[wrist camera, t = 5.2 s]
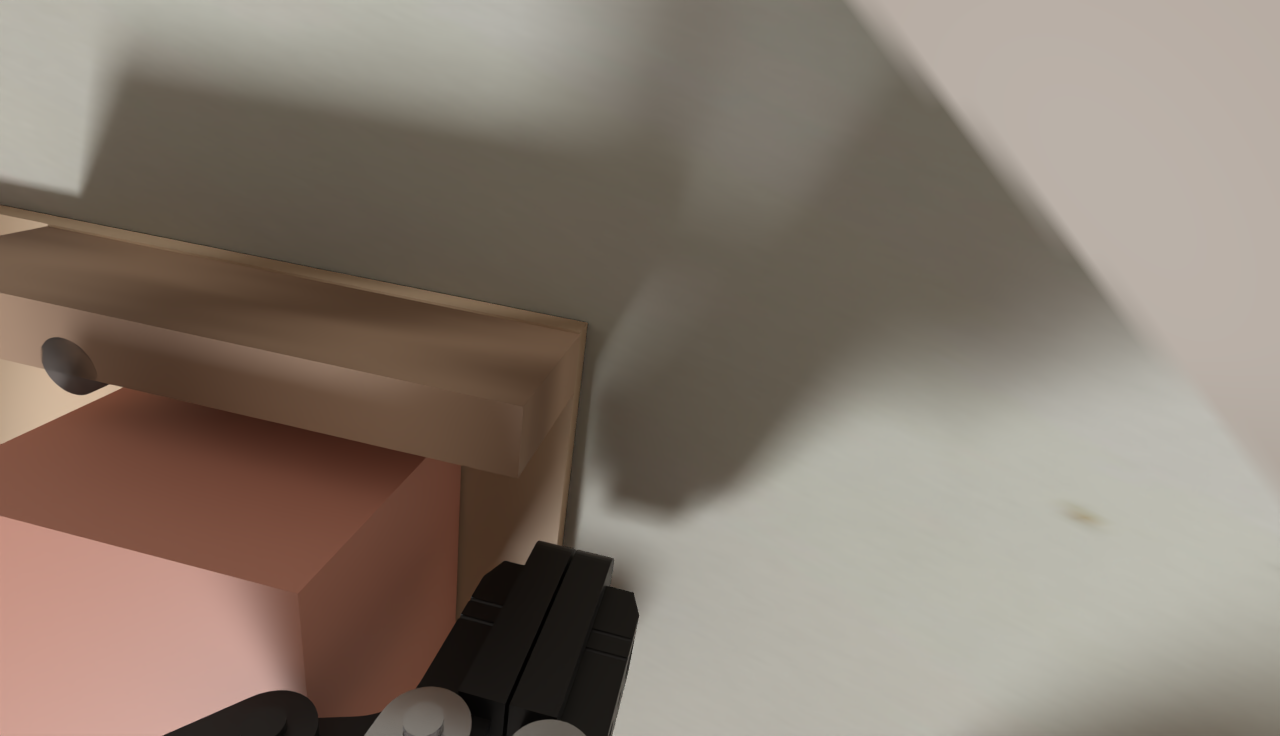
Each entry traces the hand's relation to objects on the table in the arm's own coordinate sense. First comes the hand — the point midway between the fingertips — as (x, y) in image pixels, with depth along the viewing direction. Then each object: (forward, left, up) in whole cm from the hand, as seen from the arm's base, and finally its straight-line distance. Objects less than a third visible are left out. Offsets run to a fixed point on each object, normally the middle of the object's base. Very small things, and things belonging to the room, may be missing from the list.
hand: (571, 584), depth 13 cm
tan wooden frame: (+8, 0, -2) cm, 8 cm away
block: (+6, 0, -1) cm, 6 cm away
